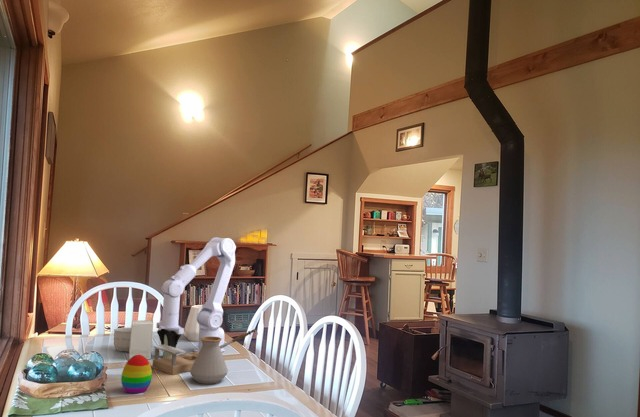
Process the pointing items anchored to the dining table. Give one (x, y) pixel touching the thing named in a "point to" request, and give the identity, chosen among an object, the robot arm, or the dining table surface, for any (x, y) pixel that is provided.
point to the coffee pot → (212, 360)
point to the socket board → (173, 360)
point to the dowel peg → (166, 344)
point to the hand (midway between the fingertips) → (168, 351)
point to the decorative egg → (136, 375)
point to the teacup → (122, 338)
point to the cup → (193, 323)
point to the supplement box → (141, 338)
